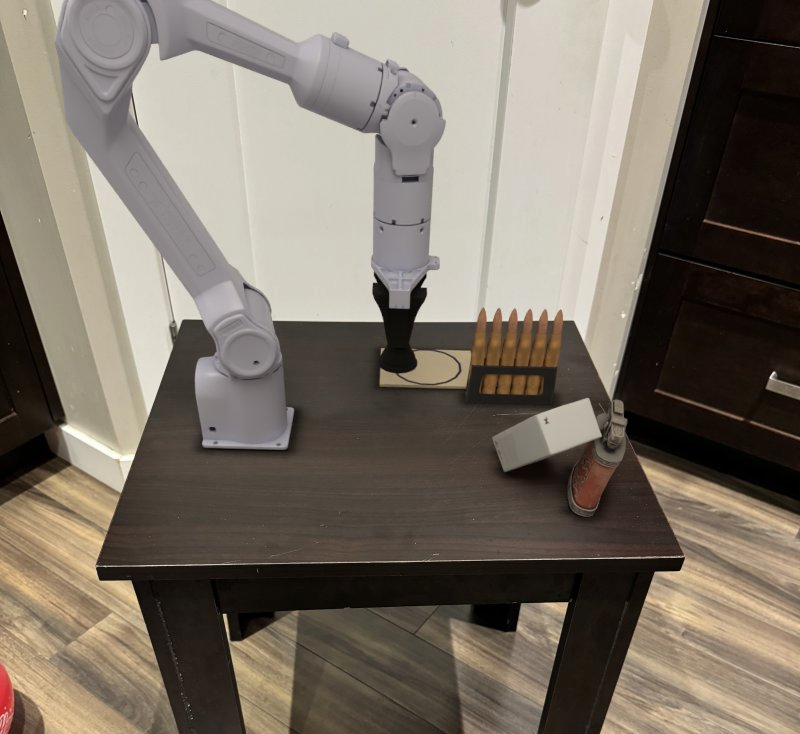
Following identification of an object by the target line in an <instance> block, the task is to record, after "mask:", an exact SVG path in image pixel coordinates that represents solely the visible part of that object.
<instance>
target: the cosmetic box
mask: <svg viewBox="0 0 800 734" xmlns="http://www.w3.org/2000/svg"><path fill="white" fill-rule="evenodd" d="M596 418H597V416H596V413H595V411H594V408H593V406H592V403H591V400H590V398H589V397H585V398H582V399H579V400H576V401H574V402H573V401H572V402H570V403H566V404H562V405H560V406H557V407H554V408H551V409H549V410H546V411H542V412H540V413H537V414H535V415H532V416H530V417H528V418H526V419H525V420H523V421H521V422H519V423H517V424H515V425H513V426H511V427H509V428H507V429H505V430H503V431H500V432H499V433H498V434H496V435H493V436H492V437H491V439H492V443H493V445H494V447H495V450H496V454H497V456H498V458H499V462H500V465H501V467H502V470H503V472H504V473H507V472H511V471H514V470H516V469H520V468H522V467H525V466H528V465H531V464H534V463H537V462H540V461H542V460H545V459H548V458H551V457H554V456H556V455H559V454H561V453H564V452H567V451H569V450H572V449H575V448H577V447H580V446H582V445H585V444H587V443H588V442H590V441H593V440H595V439H598V438H600V437H602V435H601V432H600V429H599V427H598V423H597V420H596Z"/></svg>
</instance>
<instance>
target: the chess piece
mask: <svg viewBox="0 0 800 734" xmlns="http://www.w3.org/2000/svg"><path fill="white" fill-rule="evenodd" d="M384 348H385V349H384V350H383V352H382V354H381V353H380V356H379V357H378V363H377V364H378V366H379V367H380V368H381V369H383V370H385V371H387V372H390V373H397V374H400V373H407V372H411V371H413V370H414V369H415V368H416V367H417V359H416V358H415V354H414V352H413V350H412V349H413V348H412V347H411V344H410V343H409V344H408V347H407V348H393V347H389V346H388V343H386V346H385V347H384Z"/></svg>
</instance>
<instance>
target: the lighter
mask: <svg viewBox="0 0 800 734" xmlns="http://www.w3.org/2000/svg"><path fill="white" fill-rule="evenodd" d="M624 406H625V405H624V402H623V401H622V400H619V399H614V400H612V402H611V403H610V405H609V408H608V410H607V411H608V412H607V413H606V412H605V413H604V412H601V413H598V415H597V416H596V420H597V423H598V427H599V429H600V432H601V435H602V437H600V438H598V439H595V440H593V441H590V442H588V443H585V444H586V445H585V446H584V449H583V451H582V453H581V454H580V457H579V459H578V461H576V463H574V465H573V467H572V470H571V472H570V475H569V477H568V482H567V499H568V504H569V507H570V509H571V511H572V512H573V513H575V514H577V515H579V516H581V517H585V518H587V517H592V516H593V515H594V514H595V513H596V511H597V508H598V507H599V504H600V500H601V496H602V495H603V492H604V491H605V489H606V487H607V485H608V483H609V481H610V480H611V477H612V476H613V474H614V472H615V470H616V469H617V467H619V466H620V465H621V463H622V461H623V459H624V455H625V452H626V447H627V437H626V428H627V425H628V418H625V417H624V412H625V409H624Z"/></svg>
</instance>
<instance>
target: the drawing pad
mask: <svg viewBox="0 0 800 734" xmlns="http://www.w3.org/2000/svg"><path fill="white" fill-rule="evenodd" d="M385 348H386V347H381V348H380V355H381V354H382V352H383V350H384V349H385ZM411 349H412V350H413V352H414V354H415V358H416V359H417V367H416V368H415V369H414V370H413V371H411V372H407V373H400V374H397V373H390V372H387V371H385V370H383V369H381V368H380V369H379V387H380V388H382V387H383V388H385V387H386V388H414V389H415V388H417V389H447V390H449V389H450V390H451V389H452V390H453V389H454V390H466V385H467V379H468V373H469V367H470V361H471V352H472V350H462V349H461V350H455V349H432V348H411Z"/></svg>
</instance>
